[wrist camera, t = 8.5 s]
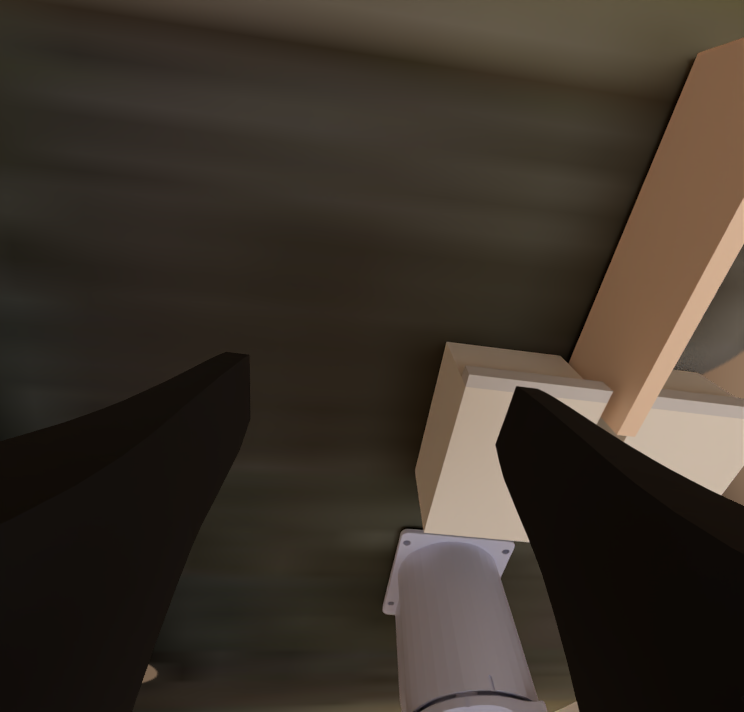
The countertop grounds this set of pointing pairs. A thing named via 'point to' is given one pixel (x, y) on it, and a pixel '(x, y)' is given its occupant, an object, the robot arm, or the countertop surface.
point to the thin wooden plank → (671, 244)
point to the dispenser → (589, 398)
